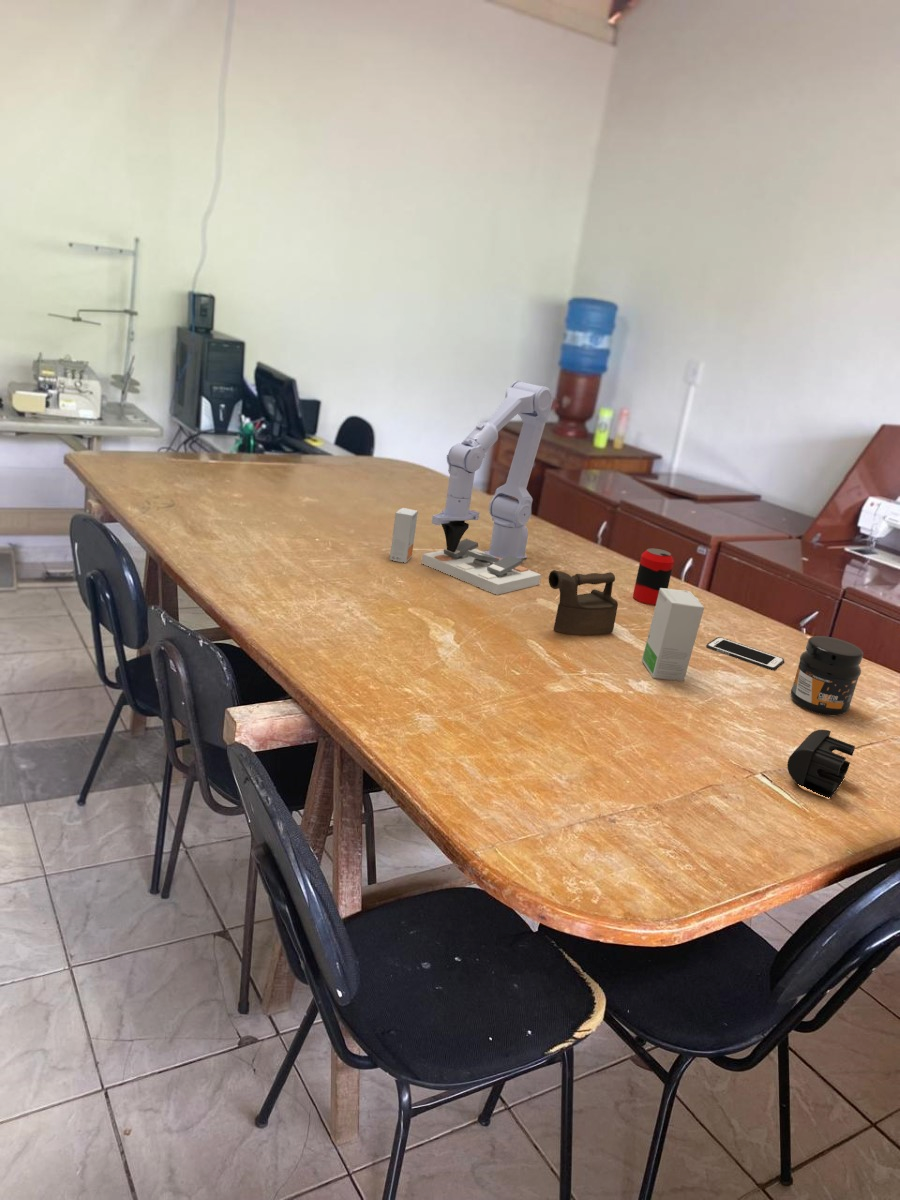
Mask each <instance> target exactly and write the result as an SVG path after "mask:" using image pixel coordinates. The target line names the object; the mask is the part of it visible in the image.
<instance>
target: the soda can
mask: <svg viewBox="0 0 900 1200" xmlns="http://www.w3.org/2000/svg"><path fill="white" fill-rule="evenodd" d="M674 563H675V560H674V557H673V556H672V553H671V552H669V551H668V550H664V549H660V548H652V547H651V548H647V549H646V550H645V551H644V552H642V553H641V556H640V561H639V566H638V569H637V575H636V580H635V584H634V589H633V592H632V597H633V598H634V600H635V599H636V601H637V602H639V603H641V604H645V605H648V604H649V606H656V602H657V598H658V594H659V590H660V588H666V589H669V584H670V580H671V576H672V575H671V574H672V572H673V567H674Z"/></svg>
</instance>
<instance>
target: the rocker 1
mask: <svg viewBox="0 0 900 1200" xmlns="http://www.w3.org/2000/svg"><path fill="white" fill-rule="evenodd" d="M478 547H479V542H476V541H474V540H471V539H470V538H469V539H468V538H464V539H463V540H460V542H459V544H458V546H457V549H456V551H455V552H451V551H448V550H447V547H446V548H444V549H443V550H444V554H446V555H449V556H451V557H454V558H458V557H460V556H461V555H463V554H465V553H466V551H467V550H470V551H471V550H473V549H478Z"/></svg>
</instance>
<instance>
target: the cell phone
mask: <svg viewBox="0 0 900 1200" xmlns="http://www.w3.org/2000/svg"><path fill="white" fill-rule="evenodd" d="M705 647H706V648H707V649H708V650H711V651H714V652H717V653H721V654H724V655H726V656H729V657H731V658H734V659H737V658H738V659H737V660H740V661H743V662H746V663H749V664H752V665H755V666H759V667H760V668H761V667H762V668H763V669H767V670H770V671H776V670H777V669H778V668H779V666H782V665H783V664H784V662H785V658H783V657H780V656H778V655H775V654H771V653H769V652H765V651H763V650H760V649H757V648H754V647H751V646H748V645H745V644H743V643H739V642H735V641H733V640H730V639H727V638H724V637H721V636H718V637H716V638H714V639H713V640H711V641H709V642H708V643H707V644H706V646H705Z"/></svg>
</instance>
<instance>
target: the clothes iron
mask: <svg viewBox="0 0 900 1200" xmlns="http://www.w3.org/2000/svg"><path fill="white" fill-rule="evenodd" d="M615 581H616V576H615V574H614V573H613V572H610V571H609V572H606V573H598V572H592V573H585V574H584V573H575V574H573V575H570V574H568V573H567V572H564V571H562V570H561V571H560V570H556V569H553V570H551V571H550V572H549V575H548V585H549V586H550V588H551V589H553V590H559V602H558V605H557V610H556V615H555V620H554V626H553V631H555V632H557V633H561V634H566V635H574V636H598V635H599V636H600V635H608V634H612V633H613V631H614V628H615V622H616V616H617V612H618V611H617V610H618V605H619V603H618V601H617V600H616V599H615V598H613V596H612V592H613V583H614V582H615ZM585 584H588V585H600V584H605V585H604V589H603V591H601V590H598V589H595V588H594V589H592V590H591V591H590V592H589V593H581V594H580V593H579V594H578V588H579V587H578V586H581V585H585Z"/></svg>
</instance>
